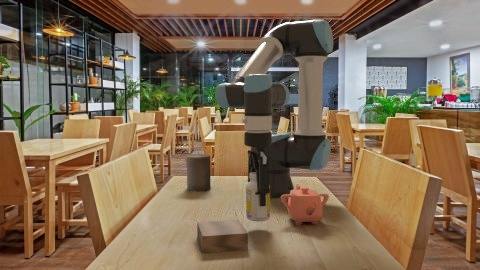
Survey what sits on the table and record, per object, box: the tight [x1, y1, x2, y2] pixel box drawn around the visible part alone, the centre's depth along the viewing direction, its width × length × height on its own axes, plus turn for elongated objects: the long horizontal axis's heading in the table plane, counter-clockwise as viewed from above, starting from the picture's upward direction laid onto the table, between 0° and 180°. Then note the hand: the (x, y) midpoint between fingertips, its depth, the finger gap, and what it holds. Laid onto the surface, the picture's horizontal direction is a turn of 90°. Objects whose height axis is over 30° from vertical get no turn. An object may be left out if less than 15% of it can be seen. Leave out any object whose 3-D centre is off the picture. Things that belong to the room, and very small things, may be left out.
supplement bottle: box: [245, 172, 271, 223], centre depth 110 cm, size 7×7×13 cm
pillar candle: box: [186, 152, 212, 192], centre depth 161 cm, size 10×10×15 cm
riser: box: [196, 219, 249, 254], centre depth 100 cm, size 11×11×4 cm
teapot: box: [280, 183, 330, 226], centre depth 118 cm, size 14×12×10 cm
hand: (258, 213), depth 111 cm, fingers closed on supplement bottle, 7 cm apart
